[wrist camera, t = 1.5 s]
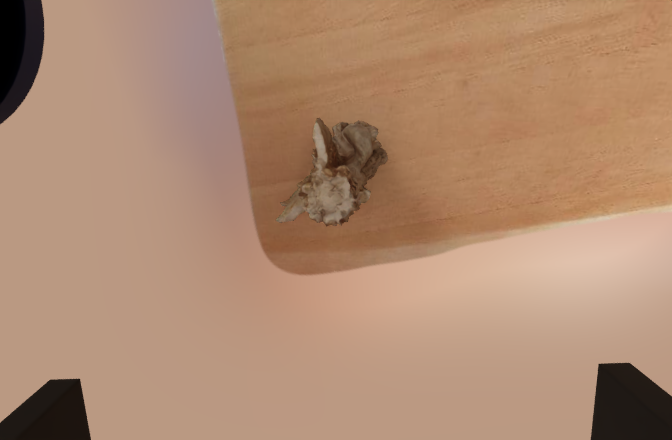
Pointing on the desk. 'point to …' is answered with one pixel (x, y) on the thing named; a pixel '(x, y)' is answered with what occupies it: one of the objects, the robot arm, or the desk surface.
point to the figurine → (337, 173)
